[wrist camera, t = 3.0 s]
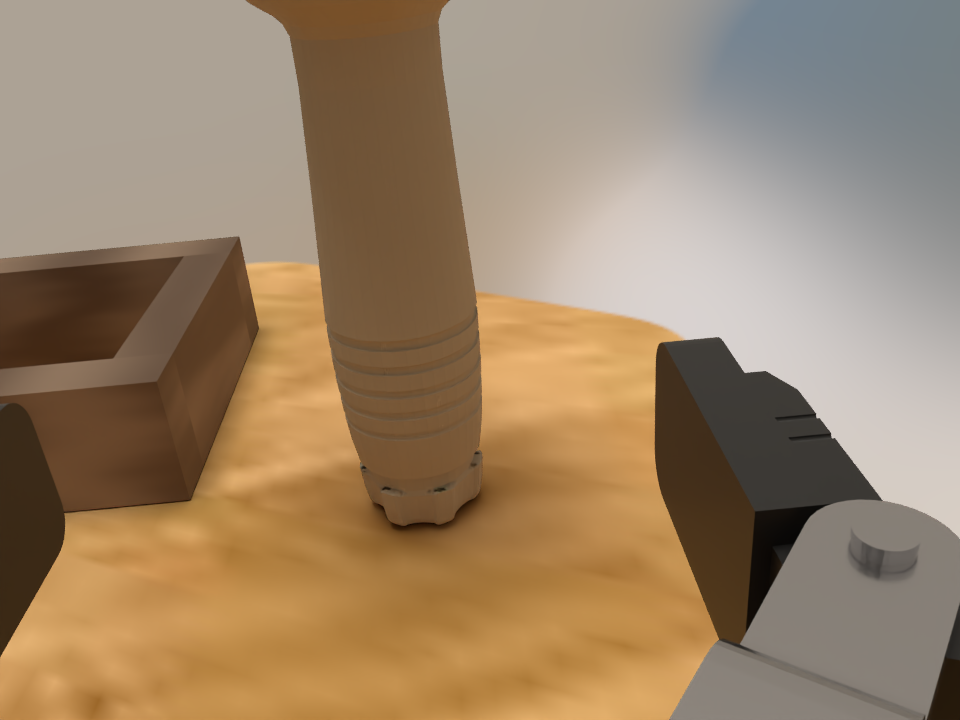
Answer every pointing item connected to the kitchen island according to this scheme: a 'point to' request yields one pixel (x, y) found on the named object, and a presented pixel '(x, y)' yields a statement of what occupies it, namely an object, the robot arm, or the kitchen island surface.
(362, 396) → the handle
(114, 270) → the socket
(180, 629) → the kitchen island surface
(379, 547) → the kitchen island surface
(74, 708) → the kitchen island surface
